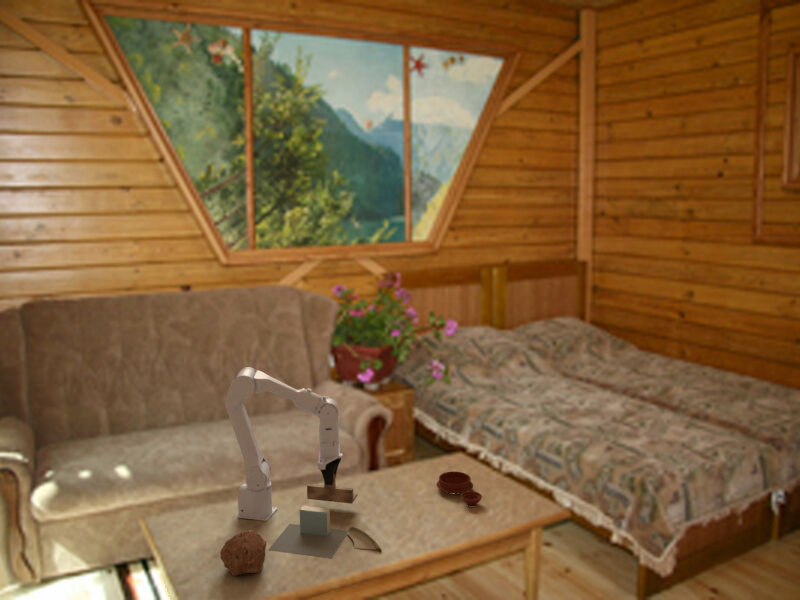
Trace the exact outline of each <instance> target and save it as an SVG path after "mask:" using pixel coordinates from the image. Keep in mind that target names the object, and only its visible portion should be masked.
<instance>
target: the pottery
mask: <svg viewBox="0 0 800 600" xmlns="http://www.w3.org/2000/svg"><path fill="white" fill-rule="evenodd" d="M471 480H472V477H471V476H470V475H469V474H468V473H465V472H462V471H447V472H444V473H441V474H439V477H438V481H437V482H436V487H437V489H438V490H441V492H445V493H447V492H448V493H447V494H449V493H455V494H457V493H461V494H460V497H461V500H462V501H463V502H464V503H465V504H467V505H468V506H467V505H466V506H467V507H469V506H475V505H476V506H477V504H478V503H479V502H480V501H481V500H482V499H483V495H482V493H480V492H478V491H473V490H472V489H473V488H474V483H473V482H472V481H471ZM457 495H458V494H457ZM476 506H475V507H476Z"/></svg>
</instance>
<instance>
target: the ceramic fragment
mask: <svg viewBox="0 0 800 600" xmlns="http://www.w3.org/2000/svg"><path fill="white" fill-rule="evenodd" d="M347 531H348V532H347V535H346V536H347V537H349V538H350V539H351V541H352V542H353V548H354V549H355V550H365V551H366V550H367V551H369V550H371V551H372V550H374V551H379V552H382V551H383V550H382V548H381V547H380V545H379V544H378V543H377V541H376V540H375V539H374V538H373V537H372V536H371V535H370V534H369V533H367V532H366V531H365V530H364V529H363V530H362V529H361V528H359V527H355V526H352V525H351V526H350V527H349V529H348V530H347Z"/></svg>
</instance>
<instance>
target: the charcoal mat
mask: <svg viewBox="0 0 800 600" xmlns="http://www.w3.org/2000/svg"><path fill="white" fill-rule="evenodd" d="M347 532H348V530H345V529H343V530H342V529H336V528H330V533H329V534H328V536H322V535H313V534H305V533H300V524H294V523H289V524H288V525H287V526H286V527H285V528H284V530H283V531H282V532H281V533H280V535H279V536H278V537H277V538H276V539H275V541H274V542H273V543H272V544H271V546H270V547H269V549H268V551H271V552H280V553H286V554H287V553H288V554H294V555H301V556H309V557H316V558H317V557H318V558H323V559H333V557H334V555H335V554H336V552H337V551H338V550H339V548H340V546H341V544H342V543H343V541H344V540H345V538H346V537H347V536H348V535H347Z"/></svg>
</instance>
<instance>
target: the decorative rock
mask: <svg viewBox="0 0 800 600" xmlns="http://www.w3.org/2000/svg"><path fill="white" fill-rule="evenodd" d="M266 548H267V541H266V540H265V538H263V537H262V536H261V534H260V533H258V531H255V530H253V529H248V530H245V531H243V530H241V531H239V533H238V534H235V535H234V536H232V537H231V538H228V540H226V541H225V543H224V545H223V546H222V548H221V549H220V552H219V553H220V557H219V558H220V559H221V562H222V563H223V566H224V568H226V569H227V570H228V571H229V572H230V574H232V576H239V575H242V574H243V575H244V574H250V573H251V574H255V573H260V572H261V571H262V570H263V568H264V563H265V559H266Z"/></svg>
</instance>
